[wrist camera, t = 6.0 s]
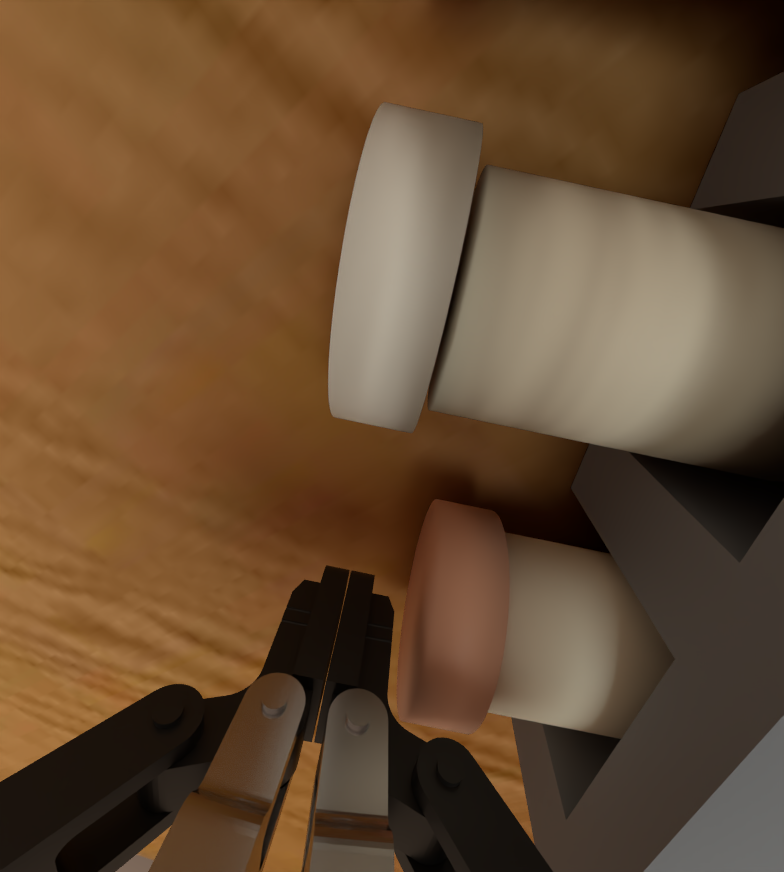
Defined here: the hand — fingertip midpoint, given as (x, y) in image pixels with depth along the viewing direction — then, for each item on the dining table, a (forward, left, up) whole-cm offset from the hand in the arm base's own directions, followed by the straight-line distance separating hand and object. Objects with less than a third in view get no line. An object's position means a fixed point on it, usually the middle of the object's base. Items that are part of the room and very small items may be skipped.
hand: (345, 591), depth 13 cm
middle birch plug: (-4, -9, -4) cm, 10 cm away
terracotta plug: (-7, 0, -4) cm, 8 cm away
